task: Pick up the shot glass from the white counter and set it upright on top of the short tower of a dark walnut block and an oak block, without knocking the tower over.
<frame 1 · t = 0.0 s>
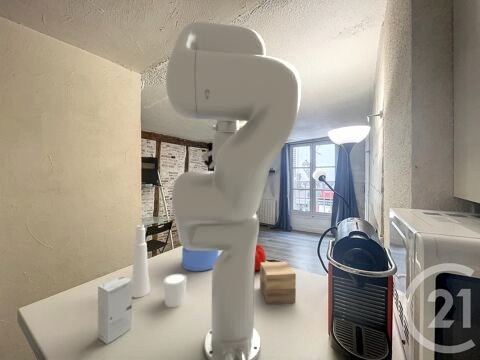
hand: (227, 180, 69), 37 cm above the table, tool pointing down, fingers open, 9 cm apart
water jug: (200, 264, 89), on the table
cosmetic bottle: (140, 293, 67), on the table
skincare box: (115, 333, 50), on the table
tower top block: (276, 281, 66), point 4 cm above the table, touching tower base block
tomato: (252, 268, 85), on the table
tower base block: (276, 295, 66), on the table, touching tower top block
shot glass: (174, 302, 62), on the table
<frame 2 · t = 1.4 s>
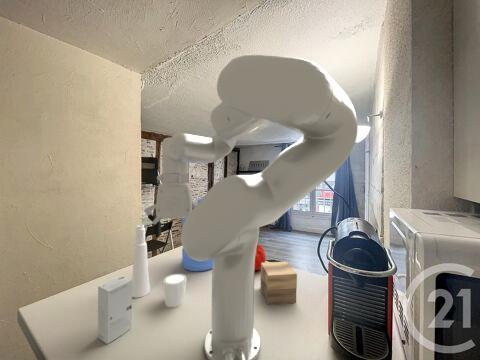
hand: (175, 236, 62), 20 cm above the table, tool pointing down, fingers open, 9 cm apart
nothing on the table moved.
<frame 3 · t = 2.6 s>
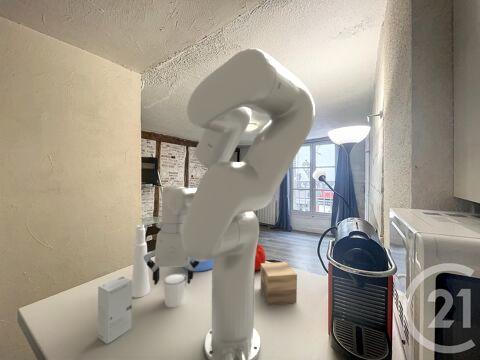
hand: (173, 281, 63), 6 cm above the table, tool pointing down, fingers open, 9 cm apart
tower top block: (277, 282, 66), point 4 cm above the table
tower base block: (277, 295, 66), on the table
everything else where it was.
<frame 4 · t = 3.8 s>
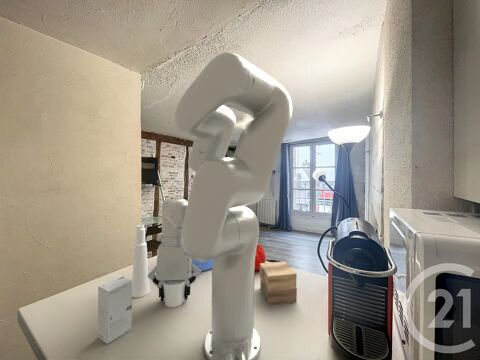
hand: (174, 297, 62), 1 cm above the table, tool pointing down, fingers closed on shot glass, 6 cm apart
tower top block: (276, 282, 66), point 4 cm above the table, touching tower base block
tower base block: (277, 295, 66), on the table, touching tower top block
shot glass: (174, 301, 62), on the table, touching gripper
everything else where it was.
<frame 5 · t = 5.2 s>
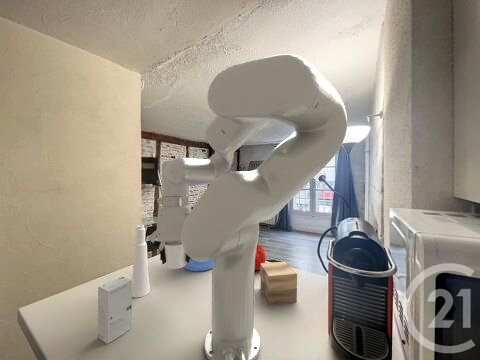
hand: (176, 261, 61), 13 cm above the table, tool pointing down, fingers closed on shot glass, 6 cm apart
shot glass: (176, 265, 61), point 11 cm above the table, touching gripper
everything else where it was.
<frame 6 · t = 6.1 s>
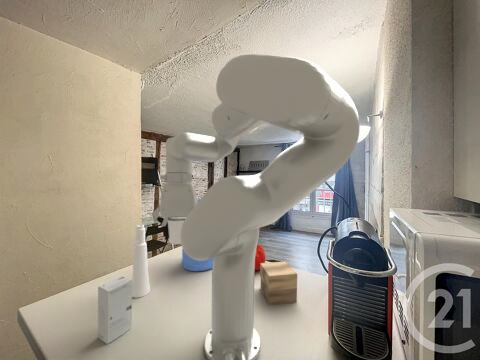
hand: (179, 237, 62), 19 cm above the table, tool pointing down, fingers closed on shot glass, 6 cm apart
shot glass: (179, 241, 62), point 18 cm above the table, touching gripper
everything else where it was.
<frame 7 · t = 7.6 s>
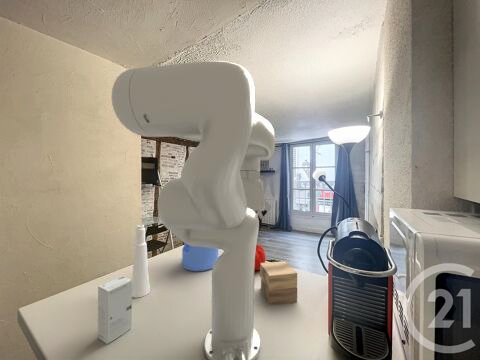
hand: (247, 229, 68), 21 cm above the table, tool pointing down, fingers closed on shot glass, 6 cm apart
shot glass: (247, 233, 68), point 19 cm above the table, touching gripper
everything else where it was.
when the fingers open (11 cm above the table, at t = 10.3 s): shot glass stays where it is, resting on tower top block.
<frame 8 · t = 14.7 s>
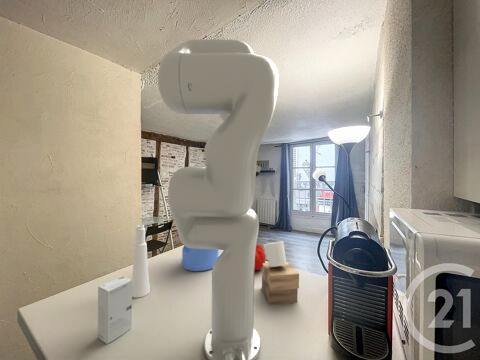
hand: (237, 190, 74), 33 cm above the table, tool pointing down, fingers open, 9 cm apart
tower top block: (279, 282, 66), point 4 cm above the table, touching shot glass, tower base block
shot glass: (278, 265, 66), point 9 cm above the table, touching tower top block
everything else where it was.
at the end: shot glass 0.4 cm off-centre on the tower top block, point 4.4 cm above the tower top block's base; tower top block 0.4 cm off-centre on the tower base block, point 4.5 cm above the tower base block's base; shot glass tilted 2° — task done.
